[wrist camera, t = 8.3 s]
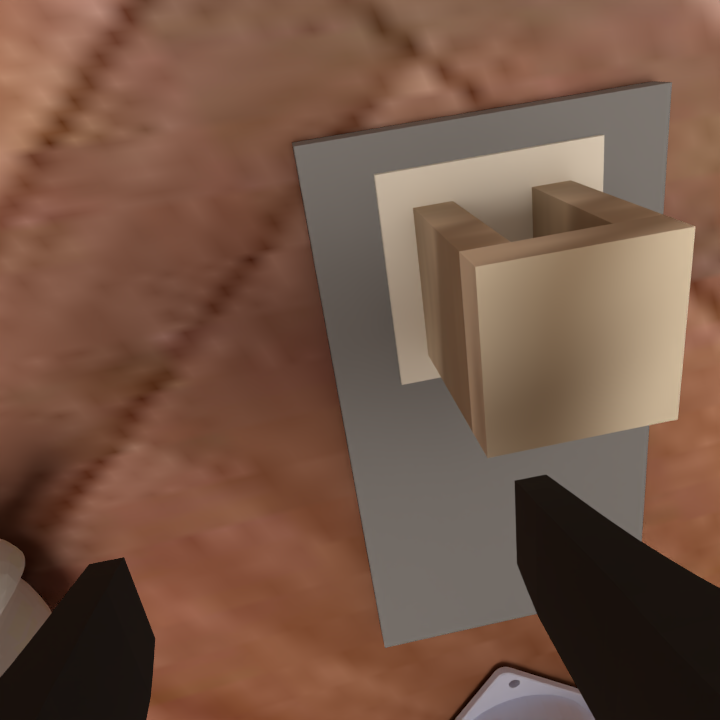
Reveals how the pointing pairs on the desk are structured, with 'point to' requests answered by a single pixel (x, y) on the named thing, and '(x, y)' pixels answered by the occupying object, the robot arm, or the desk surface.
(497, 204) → the board
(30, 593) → the teacup
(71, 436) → the desk surface
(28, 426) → the desk surface
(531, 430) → the tan u-shaped block
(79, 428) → the desk surface
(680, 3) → the desk surface
